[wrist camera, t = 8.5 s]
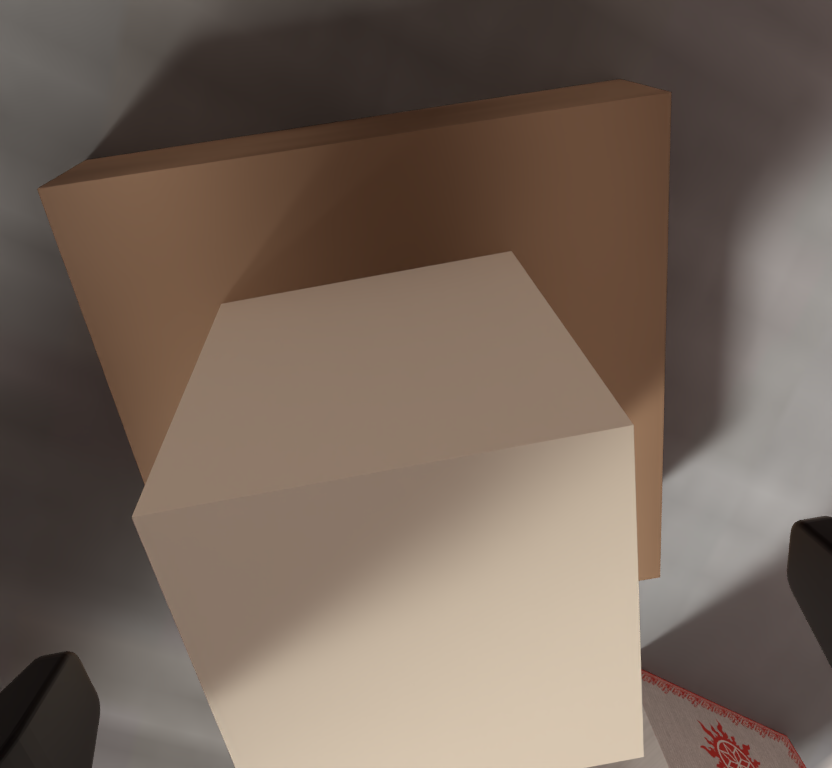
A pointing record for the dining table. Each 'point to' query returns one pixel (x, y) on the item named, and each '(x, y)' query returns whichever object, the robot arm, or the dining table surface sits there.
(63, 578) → the dining table surface
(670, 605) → the dining table surface
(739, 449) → the dining table surface
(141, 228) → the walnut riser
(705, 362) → the dining table surface
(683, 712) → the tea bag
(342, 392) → the cream block
